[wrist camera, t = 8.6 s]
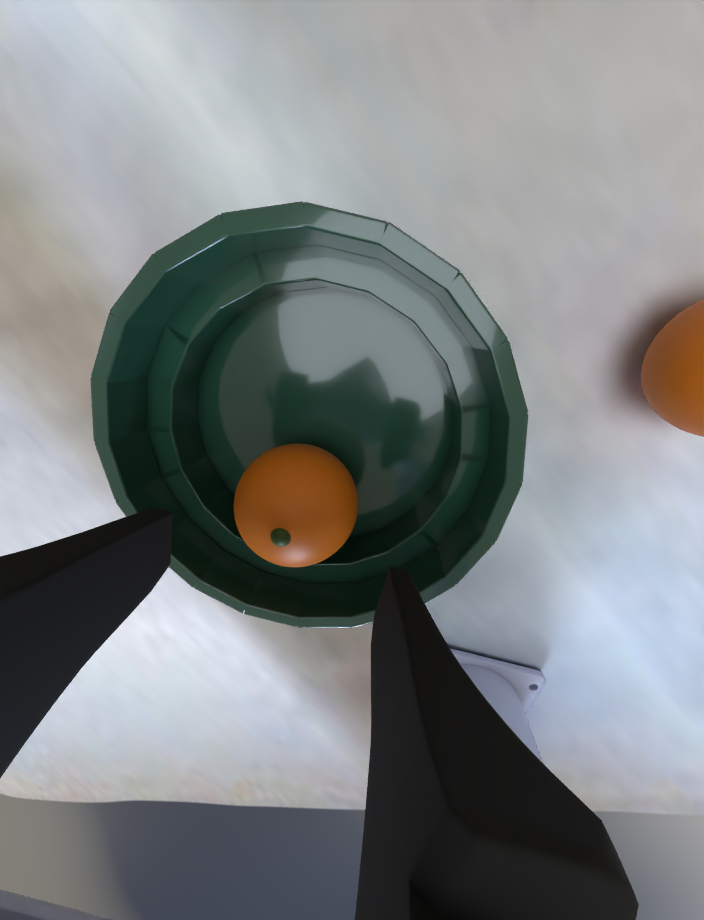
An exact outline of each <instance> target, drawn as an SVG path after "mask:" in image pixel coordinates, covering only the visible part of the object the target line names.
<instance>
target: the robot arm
mask: <svg viewBox="0 0 704 920" xmlns="http://www.w3.org/2000/svg"><path fill="white" fill-rule="evenodd" d="M172 514H173V512H169V511H165V510H161V509H157V508H152V509H148V510H145V511H142V512H139V513H136V514H133V515H130V516H127V517H124V518H122V519H119V520H116V521H113V522H110V523H108V524H105V525H102V526H99V527H96V528H93V529H90V530H88V531H85V532H82V533H79V534H76V535H72V536H69V537H66V538H63V539H60V540H57V541H54V542H50V543H47V544H44V545H41V546H38V547H34V548H31V549H27V550H24V551H20V552H16V553H13V554H9V555H5V556H1V557H0V778H1V776H2V775H3V774H4V772H5V771H6V769H7V768H8V766H9V765H10V764H11V762H12V761H13V759H14V758H15V756H16V755H17V754H18V752H19V751H20V749H21V748H22V746H23V745H24V744H25V742H26V741H27V739H28V738H29V737H30V735H31V734H32V733H33V731H34V730H35V729H36V727H37V726H38V725H39V723H40V722H41V720H42V719H43V718H44V716H45V715H46V714H47V712H48V711H49V710H50V708H51V707H52V706H53V704H54V703H55V702H56V700H57V699H58V698H59V696H60V695H61V694H62V693H63V691H64V690H65V689H66V687H67V686H68V685H69V683H70V682H71V681H72V680H73V678H74V677H75V676H76V674H77V673H78V672H79V671H80V669H81V668H82V667H83V666H84V665H85V663H86V662H87V661H88V660H89V659H90V658H91V656H92V655H93V654H94V653H95V652H96V651H97V650H98V649H99V647H100V646H101V645H102V644H103V643H104V642H105V641H106V640H107V639H108V638H109V637H110V635H111V634H112V633H113V632H114V631H115V630H116V629H117V628H118V627H119V626H120V625H121V624H122V622H123V621H124V620H125V619H126V618H127V617H128V616H129V615H130V614H131V613H132V612H133V611H134V609H135V608H136V607H137V606H138V605H139V604H140V603H141V602H142V601H143V599H144V598H145V597H146V596H147V595H148V594H149V593H150V592H151V590H152V589H153V588H154V586H155V585H156V584H157V582H158V581H159V580H160V578H161V577H162V575H163V574H164V572H165V571H166V569H167V568H168V566H169V565H170V564H171V539H172ZM545 681H546V680H545V677H544V675H543V673H542V672H541V671H538V670H535V669H531V668H527V667H523V666H519V665H515V664H511V663H507V662H503V661H499V660H495V659H491V658H487V657H483V656H479V655H475V654H471V653H467V652H463V651H459V650H454V649H450V648H449V646H448V645H447V643H446V641H445V640H444V638H443V636H442V635H441V633H440V631H439V629H438V628H437V626H436V624H435V622H434V620H433V619H432V617H431V615H430V613H429V611H428V609H427V607H426V605H425V603H424V601H423V599H422V597H421V595H420V593H419V591H418V589H417V587H416V585H415V583H414V581H413V579H412V577H411V574H410V573H409V571H407V570H403V569H399V568H395V567H391V566H390V567H389V570H388V573H387V576H386V579H385V583H384V586H383V589H382V592H381V595H380V598H379V601H378V604H377V608H376V611H375V614H374V621H373V631H372V641H371V748H370V761H369V774H368V787H367V798H366V810H365V821H364V833H363V843H362V854H361V864H360V874H359V886H358V895H357V905H356V914H355V920H635V919H636V915H637V910H638V902H637V899H636V897H635V894H634V891H633V889H632V887H631V884H630V882H629V880H628V877H627V875H626V873H625V870H624V868H623V866H622V863H621V861H620V859H619V857H618V854H617V852H616V850H615V847H614V845H613V843H612V841H611V839H610V837H609V835H608V833H607V831H606V829H605V827H604V825H603V823H602V820H600V819H599V818H598V817H597V816H596V815H595V814H594V813H593V812H592V811H591V810H590V809H589V808H588V807H587V806H586V805H585V804H584V803H583V802H582V801H581V800H580V799H579V798H578V797H577V796H576V795H575V794H573V793H572V792H571V791H570V790H569V789H568V788H567V787H566V786H565V785H564V784H563V783H562V782H561V781H560V780H559V779H558V778H557V777H556V776H555V775H554V774H553V773H552V772H551V771H550V770H549V769H548V768H547V767H546V766H545V765H544V764H543V762H542V759H541V756H540V753H539V751H538V748H537V745H536V742H535V740H534V737H533V734H532V731H531V729H530V726H529V723H528V720H527V718H526V715H525V714H526V712H527V711H528V709H529V708H530V706H531V704H532V703H533V701H534V700H535V698H536V696H537V695H538V693H539V692H540V690H541V688H542V687H543V685H544V684H545ZM0 920H114V919H110V918H106V917H103V916H99V915H95V914H91V913H87V912H84V911H80V910H76V909H72V908H68V907H64V906H61V905H57V904H53V903H49V902H46V901H41V900H38V899H34V898H30V897H26V896H23V895H19V894H15V893H11V892H7V891H4V890H0Z"/></svg>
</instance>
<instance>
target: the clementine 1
mask: <svg viewBox="0 0 704 920" xmlns="http://www.w3.org/2000/svg"><path fill="white" fill-rule="evenodd" d="M357 513H358V495H357V490H356V486H355V483H354V481H353V478H352V476H351V474H350V473H349V471H348V470H347V468H346V467H345V466H344V464H343V463H342V462H341V461H340V460H339V459H338V458H336V457H335V456H334V455H333V454H331V453H329V452H328V451H326V450H324V449H322V448H320V447H317V446H313V445H309V444H299V443H293V444H285V445H281V446H278V447H275V448H272V449H270V450H268V451H266V452H264V453H263V454H262V455H260V456H259V457H257V458H256V459H255V460H254V461H253V462H252V463H251V464H250V465H249V466H248V468H247V469H246V470H245V472H244V473H243V475H242V476H241V478H240V480H239V483H238V485H237V488H236V492H235V497H234V516H235V521H236V525H237V528H238V530H239V532H240V534H241V536H242V538H243V540H244V541H245V543H246V544H247V545H248V546H249V547H250V549H251V550H252V551H254V552H255V553H256V554H257V555H259V556H260V557H261V558H263V559H265V560H267V561H269V562H271V563H273V564H277V565H280V566H285V567H304V566H309V565H313V564H316V563H319V562H321V561H323V560H325V559H327V558H328V557H330V556H331V555H333V554H334V553H335V552H337V551H338V549H339V548H340V547H341V546H342V545H343V544H344V543H345V542H346V540H347V539H348V537H349V536H350V534H351V532H352V530H353V528H354V525H355V522H356V519H357Z"/></svg>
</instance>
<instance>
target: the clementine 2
mask: <svg viewBox="0 0 704 920" xmlns="http://www.w3.org/2000/svg"><path fill="white" fill-rule="evenodd" d="M641 384H642V389H643V392H644V395H645V397H646V399H647V401H648V403H649V404H650V406H651V407H652V408H653V410H654V411H655V412H656V413H657V414H658V415H659V416H660V417H661V418H663V419H664V420H666V421H667V422H668V423H670V424H671V425H673V426H675V427H677V428H679V429H681V430H684V431H686V432H689V433H692V434H695V435H699V436H703V437H704V298H703V299H701V300H699V301H697V302H695V303H694V304H692V305H690V306H689V307H687V308H685V309H684V310H683V311H681V312H680V313H679V314H677V315H676V316H675V317H674V318H672V319H671V320H670V321H669V322H668V323H667V324H666V325H665V326H664V327H663V328H662V329H661V330H660V331H659V332H658V334H657V335H656V336H655V338H654V339H653V341H652V342H651V344H650V346H649V348H648V350H647V352H646V354H645V357H644V360H643V363H642V369H641Z"/></svg>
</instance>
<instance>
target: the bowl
mask: <svg viewBox="0 0 704 920" xmlns="http://www.w3.org/2000/svg"><path fill="white" fill-rule="evenodd" d="M91 397H92V417H93V436H94V442H95V446H96V449H97V452H98V454H99V457H100V460H101V463H102V466H103V468H104V471H105V474H106V477H107V479H108V482H109V485H110V488H111V491H112V493H113V496H114V499H115V500H116V503H117V504H118V506H119V507H120V509H121V510H122V512H123V513H124V514H125V516H126V517H127V516H130V515H133V514H136V513H139V512H142V511H145V510H148V509H152V508H157V509H161V510H165V511H169V512H173V514H172V539H171V564H170V565H169V566H168V567H170V568H171V569H172V570H173V571H174V572H175V573H176V574H178V575H179V576H180V577H181V578H182V579H183V580H185V581H186V582H187V583H188V584H189V585H190V586H191V587H194V588H195V589H197V590H198V591H200V592H202V593H204V594H206V595H208V596H210V597H212V598H214V599H216V600H218V601H220V602H222V603H224V604H225V605H227V606H229V607H231V608H233V609H235V610H237V611H239V612H241V613H244V614H246V615H250V616H254V617H258V618H262V619H266V620H270V621H274V622H278V623H282V624H286V625H290V626H294V627H297V626H298V628H352V627H357V626H361V625H365V624H369V623H373V621H374V614H375V611H376V608H377V604H378V601H379V598H380V595H381V592H382V589H383V586H384V583H385V579H386V576H387V573H388V570H389V567H390V566H391V567H395V568H399V569H403V570H407V571H409V573H410V574H411V577H412V579H413V581H414V583H415V585H416V587H417V589H418V591H419V593H420V595H421V597H422V599H423V601H424V603H426V602H428V601H429V600H431V599H433V598H435V597H436V596H438V595H440V594H442V593H443V592H445V591H447V590H448V589H450V588H452V587H454V586H455V584H457V583H458V582H459V581H460V580H461V579H462V578H463V577H464V576H465V575H466V574H467V573H468V571H469V570H470V569H471V568H472V567H473V566H474V565H475V564H476V563H477V562H478V561H479V560H480V558H481V557H482V556H483V555H484V554H485V553H486V552H487V551H488V550H489V549H490V548H491V547H492V545H493V544H494V543H495V541H497V539H498V537H499V535H500V532H501V530H502V528H503V526H504V523H505V521H506V519H507V517H508V515H509V512H510V510H511V508H512V506H513V503H514V501H515V499H516V497H517V495H518V492H519V490H520V488H521V486H522V482H523V472H524V460H525V448H526V436H527V424H528V414H527V413H528V410H527V406H526V403H525V399H524V395H523V391H522V388H521V384H520V380H519V377H518V373H517V369H516V366H515V362H514V358H513V354H512V351H511V347H510V343H509V341H508V340H507V337H506V335H505V334H504V332H503V331H502V329H501V328H500V327H499V325H498V324H497V322H496V321H495V320H494V318H493V317H492V315H491V314H490V312H489V311H488V310H487V308H486V307H485V305H484V304H483V303H482V301H481V300H480V298H479V297H478V295H477V294H476V293H475V291H474V290H473V288H472V287H471V286H470V284H469V283H468V281H467V280H466V278H465V277H464V276H463V274H462V273H460V271H459V270H458V269H457V268H455V267H454V266H452V265H451V264H450V263H448V262H447V261H445V260H444V259H442V258H441V257H439V256H438V255H436V254H435V253H433V252H432V251H431V250H429V249H428V248H426V247H425V246H423V245H422V244H420V243H419V242H417V241H416V240H415V239H413V238H412V237H410V236H409V235H407V234H406V233H404V232H403V231H401V230H400V229H399V228H397V227H396V226H394V225H393V224H391V223H387V222H386V221H383V220H378V219H374V218H370V217H366V216H362V215H358V214H354V213H349V212H345V211H341V210H337V209H333V208H329V207H325V206H320V205H316V204H312V203H308V202H305V203H303V202H295V203H288V204H281V205H274V206H267V207H260V208H253V209H246V210H239V211H232V212H225V213H222V214H221V215H218V216H216V217H214V218H212V219H211V220H209V221H207V222H206V223H204V224H202V225H201V226H199V227H197V228H196V229H194V230H192V231H191V232H189V233H187V234H185V235H184V236H182V237H180V238H179V239H177V240H175V241H174V242H172V243H170V244H169V245H167V246H165V247H164V248H162V249H160V250H158V251H157V252H155V254H152V255H151V257H150V258H149V259H148V261H147V262H146V263H145V265H144V266H143V267H142V269H141V270H140V271H139V273H138V274H137V275H136V277H135V278H134V279H133V280H132V282H131V283H130V284H129V286H128V287H127V288H126V290H125V291H124V292H123V294H122V295H121V296H120V298H119V299H118V300H117V302H116V303H115V304H114V306H113V307H112V308H111V310H110V313H109V315H108V319H107V322H106V326H105V329H104V333H103V336H102V340H101V343H100V347H99V350H98V354H97V357H96V361H95V364H94V368H93V371H92V374H91ZM293 443H299V444H309V445H313V446H317V447H320V448H322V449H324V450H326V451H328V452H329V453H331V454H333V455H334V456H335V457H336V458H338V459H339V460H340V461H341V462H342V463H343V464H344V466H345V467H346V468H347V470H348V471H349V473H350V474H351V476H352V478H353V481H354V483H355V486H356V490H357V495H358V513H357V519H356V522H355V525H354V528H353V530H352V532H351V534H350V536H349V537H348V539H347V540H346V542H345V543H344V544H343V545H342V546H341V547H340V548H339V549H338V551H337V552H335V553H334V554H333V555H331V556H330V557H328V558H327V559H325V560H323V561H321V562H319V563H316V564H313V565H309V566H304V567H285V566H280V565H277V564H273V563H271V562H269V561H267V560H265V559H263V558H261V557H260V556H259V555H257V554H256V553H255V552H254V551H252V550H251V549H250V547H249V546H248V545H247V544H246V543H245V541H244V540H243V538H242V536H241V534H240V532H239V530H238V528H237V525H236V521H235V516H234V497H235V492H236V488H237V485H238V483H239V480H240V478H241V476H242V475H243V473H244V472H245V470H246V469H247V468H248V466H249V465H250V464H251V463H252V462H253V461H254V460H255V459H256V458H257V457H259V456H260V455H262V454H263V453H264V452H266V451H268V450H270V449H272V448H275V447H278V446H281V445H285V444H293Z"/></svg>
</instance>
